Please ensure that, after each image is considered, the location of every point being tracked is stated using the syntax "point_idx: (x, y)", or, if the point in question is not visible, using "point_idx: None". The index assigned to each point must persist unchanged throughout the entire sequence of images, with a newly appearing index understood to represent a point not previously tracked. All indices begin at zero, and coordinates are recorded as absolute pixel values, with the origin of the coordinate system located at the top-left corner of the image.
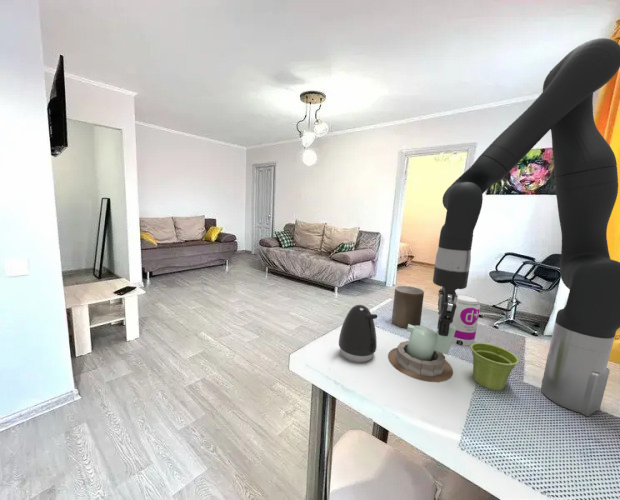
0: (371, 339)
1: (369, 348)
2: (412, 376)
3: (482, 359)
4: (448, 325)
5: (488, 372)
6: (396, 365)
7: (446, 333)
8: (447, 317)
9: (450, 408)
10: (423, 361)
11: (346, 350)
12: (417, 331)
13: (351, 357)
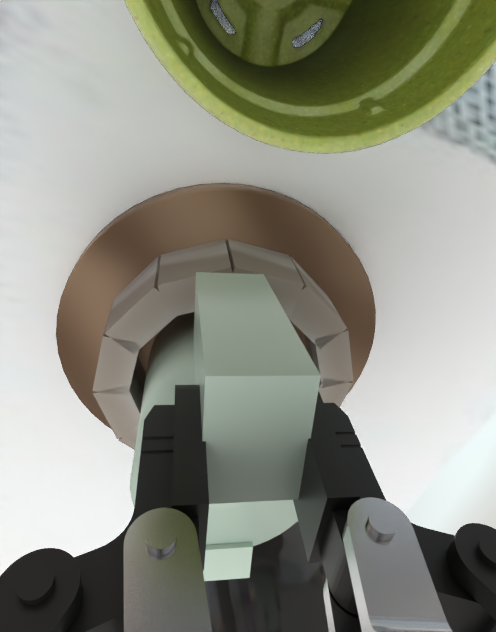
0: None
1: None
2: (354, 371)
3: (444, 75)
4: (345, 471)
5: (419, 11)
6: None
7: (344, 417)
8: (493, 621)
9: (492, 235)
10: (328, 375)
11: None
12: (266, 524)
13: None
